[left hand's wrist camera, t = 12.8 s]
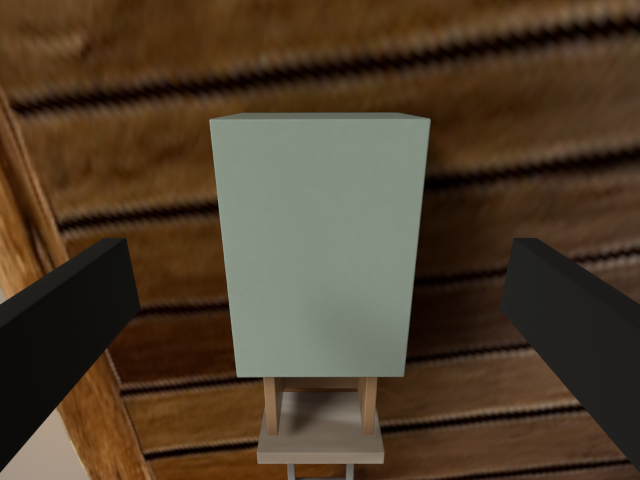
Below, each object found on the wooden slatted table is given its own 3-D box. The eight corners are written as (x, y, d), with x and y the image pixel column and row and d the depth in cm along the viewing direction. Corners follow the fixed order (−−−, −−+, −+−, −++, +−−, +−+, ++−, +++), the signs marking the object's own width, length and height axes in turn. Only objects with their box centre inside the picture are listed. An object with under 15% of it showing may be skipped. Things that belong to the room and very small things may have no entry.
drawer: (369, 447, 36) (379, 514, 30) (271, 447, 36) (262, 514, 30) (382, 256, 28) (398, 296, 23) (258, 256, 28) (242, 297, 23)
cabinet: (383, 309, 31) (404, 377, 24) (257, 309, 31) (236, 377, 24) (398, 112, 25) (431, 118, 18) (242, 113, 25) (208, 119, 18)
